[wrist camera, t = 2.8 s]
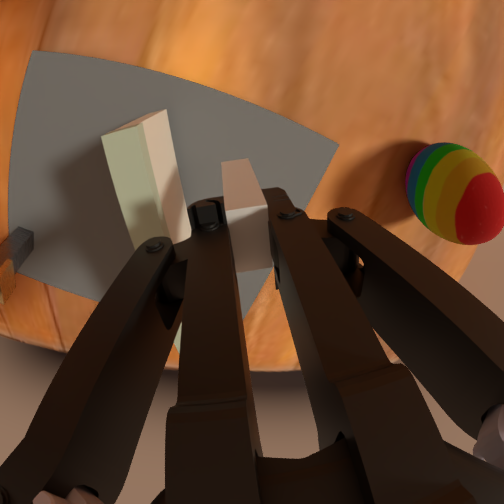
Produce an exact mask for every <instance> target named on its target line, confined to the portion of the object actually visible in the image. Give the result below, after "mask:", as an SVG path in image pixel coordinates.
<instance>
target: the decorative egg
mask: <svg viewBox="0 0 504 504" xmlns="http://www.w3.org/2000/svg"><path fill="white" fill-rule="evenodd" d="M405 186H406V193H407V197H408V201H409V203H410V206H411V208H412V210H413V212H414V213H415V215H416V216H417V218H418V219H419V220H420V221H421V222H422V223H423V225H424V226H426V227H427V228H428V229H429V230H430V231H432V232H433V233H434V234H436V235H438V236H439V237H441V238H443V239H446V240H448V241H450V242H454V243H457V244H463V245H476V244H481V243H485V242H488V241H490V240H491V239H493V238H494V237H496V236H497V235H498V234H499V233H500V231H501V230H502V228H503V226H504V193H503V189H502V187H501V184H500V182H499V180H498V178H497V177H496V175H495V173H494V172H493V170H492V169H491V168H490V167H489V165H488V164H487V163H486V162H485V161H484V160H483V159H482V158H481V157H479V156H478V155H477V154H475V153H474V152H473V151H471V150H469V149H467V148H465V147H463V146H460V145H457V144H453V143H435V144H432V145H429V146H427V147H425V148H423V149H422V150H420V151H419V152H418V153H417V154H416V155H415V156H414V157H413V159H412V160H411V162H410V164H409V166H408V169H407V173H406V180H405Z"/></svg>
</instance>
